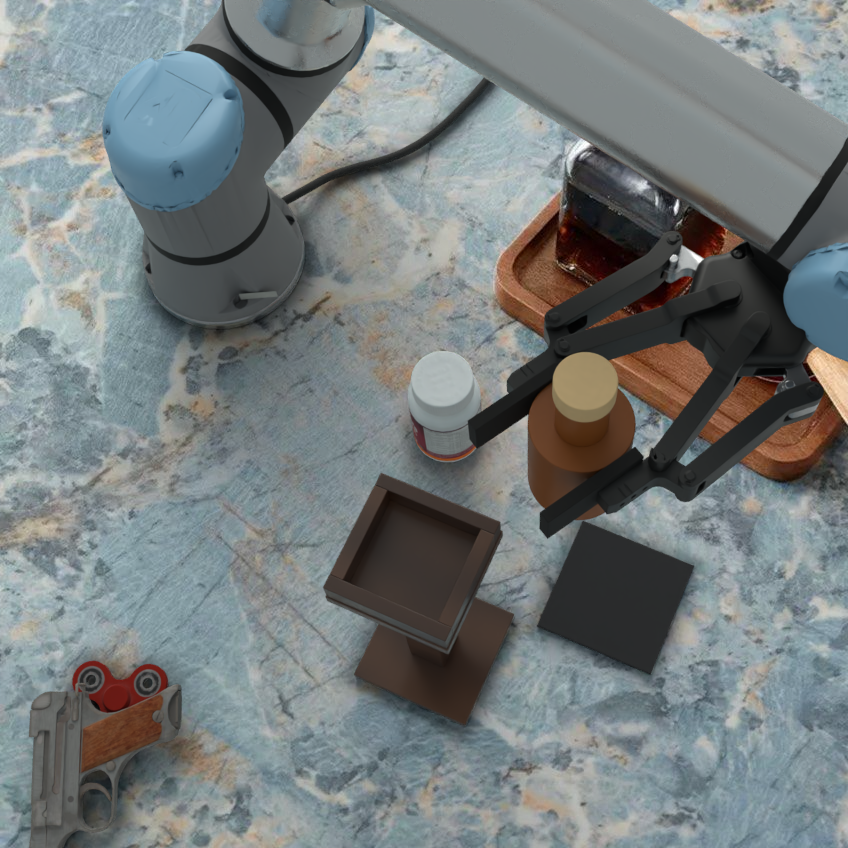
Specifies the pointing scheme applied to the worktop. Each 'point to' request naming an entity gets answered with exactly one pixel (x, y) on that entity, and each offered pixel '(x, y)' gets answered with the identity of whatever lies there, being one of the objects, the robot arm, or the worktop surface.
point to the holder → (422, 596)
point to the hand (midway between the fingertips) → (508, 479)
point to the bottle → (577, 428)
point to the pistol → (87, 754)
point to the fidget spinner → (119, 685)
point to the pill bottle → (443, 405)
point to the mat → (616, 597)
